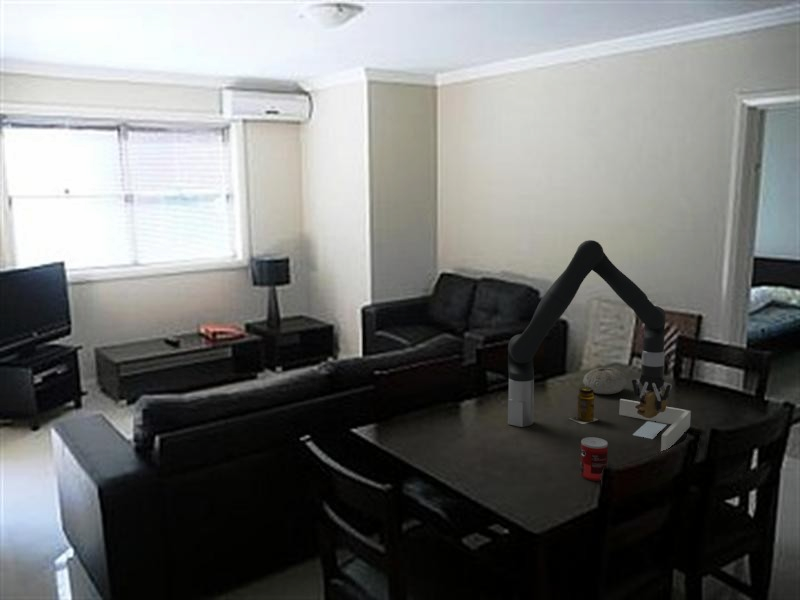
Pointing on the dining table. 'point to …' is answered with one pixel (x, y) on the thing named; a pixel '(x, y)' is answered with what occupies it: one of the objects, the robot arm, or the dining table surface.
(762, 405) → the dining table surface
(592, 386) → the decorative shell
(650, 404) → the wooden carving
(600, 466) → the canned food
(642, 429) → the pad
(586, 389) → the condiment
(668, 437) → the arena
